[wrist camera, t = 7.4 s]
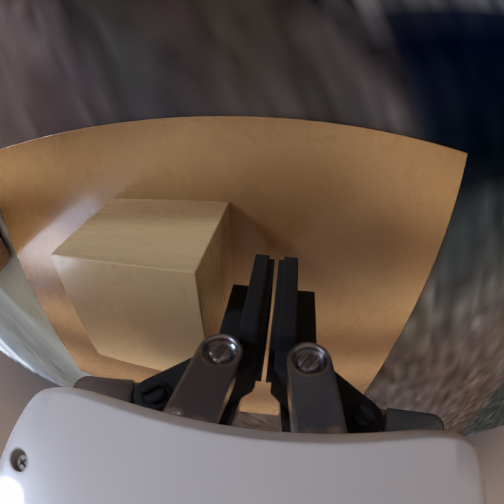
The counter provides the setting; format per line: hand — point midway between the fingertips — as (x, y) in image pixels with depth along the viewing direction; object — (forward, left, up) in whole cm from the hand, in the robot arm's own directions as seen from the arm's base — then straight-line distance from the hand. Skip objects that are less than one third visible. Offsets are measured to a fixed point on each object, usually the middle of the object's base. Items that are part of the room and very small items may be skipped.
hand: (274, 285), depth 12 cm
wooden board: (+6, -6, -2) cm, 9 cm away
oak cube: (0, -5, -2) cm, 6 cm away
